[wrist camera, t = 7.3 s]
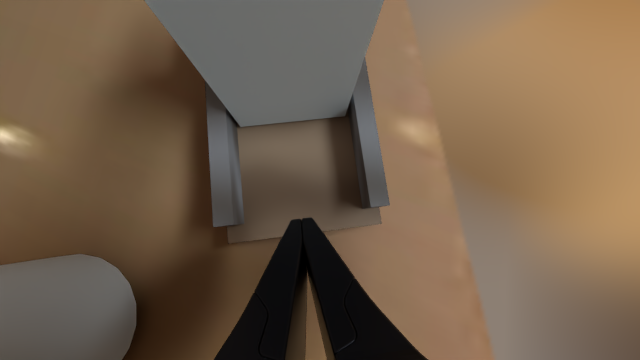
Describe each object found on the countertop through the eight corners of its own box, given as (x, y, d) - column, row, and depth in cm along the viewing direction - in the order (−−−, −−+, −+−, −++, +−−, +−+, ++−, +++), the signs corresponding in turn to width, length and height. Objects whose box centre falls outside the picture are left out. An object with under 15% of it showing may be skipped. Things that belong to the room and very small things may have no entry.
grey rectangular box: (344, 116, 15) (403, -59, 6) (240, 126, 15) (113, -41, 5) (332, 30, 16) (363, -246, 6) (233, 38, 16) (114, -242, 6)
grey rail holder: (375, 223, 16) (400, 225, 11) (235, 241, 15) (205, 250, 11) (341, 9, 18) (351, -58, 14) (220, 19, 18) (190, -48, 13)
